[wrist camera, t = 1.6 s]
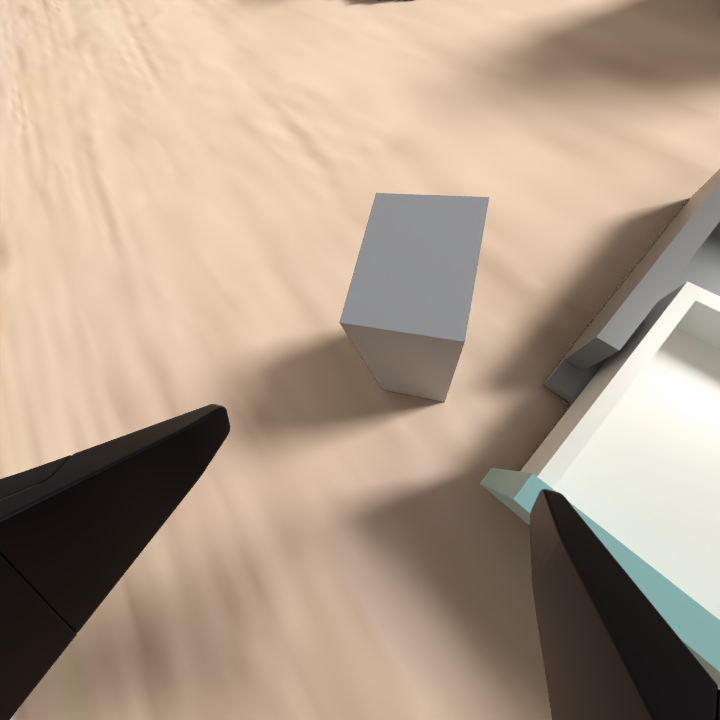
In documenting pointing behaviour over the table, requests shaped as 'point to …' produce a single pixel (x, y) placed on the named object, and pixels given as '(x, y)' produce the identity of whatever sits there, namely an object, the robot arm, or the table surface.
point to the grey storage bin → (648, 288)
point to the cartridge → (415, 289)
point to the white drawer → (647, 464)
